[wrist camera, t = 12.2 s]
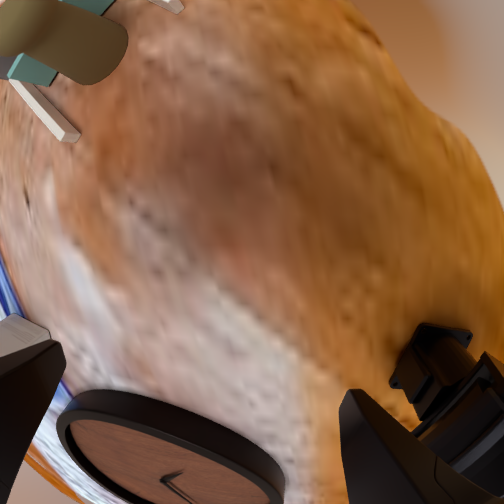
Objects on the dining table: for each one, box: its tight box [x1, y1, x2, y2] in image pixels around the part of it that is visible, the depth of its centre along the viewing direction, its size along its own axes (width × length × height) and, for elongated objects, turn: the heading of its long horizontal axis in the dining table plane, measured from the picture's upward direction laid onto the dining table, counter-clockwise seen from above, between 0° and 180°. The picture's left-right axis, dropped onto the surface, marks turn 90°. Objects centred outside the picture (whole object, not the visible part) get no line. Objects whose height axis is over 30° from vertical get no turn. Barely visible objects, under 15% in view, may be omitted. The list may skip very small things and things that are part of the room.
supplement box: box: [0, 313, 62, 378], centre depth 19 cm, size 7×7×13 cm
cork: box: [0, 0, 128, 85], centre depth 11 cm, size 6×6×11 cm
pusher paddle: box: [7, 0, 114, 87], centre depth 13 cm, size 1×10×5 cm, turn 139°
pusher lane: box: [0, 0, 184, 143], centre depth 13 cm, size 13×14×6 cm
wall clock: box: [56, 389, 285, 504], centre depth 27 cm, size 31×4×31 cm
